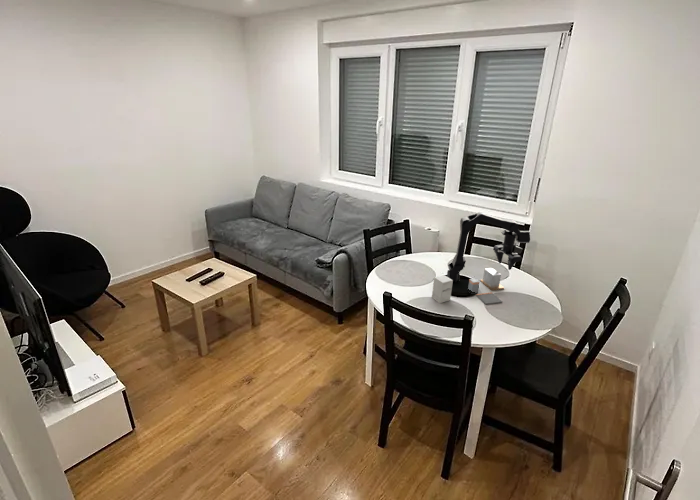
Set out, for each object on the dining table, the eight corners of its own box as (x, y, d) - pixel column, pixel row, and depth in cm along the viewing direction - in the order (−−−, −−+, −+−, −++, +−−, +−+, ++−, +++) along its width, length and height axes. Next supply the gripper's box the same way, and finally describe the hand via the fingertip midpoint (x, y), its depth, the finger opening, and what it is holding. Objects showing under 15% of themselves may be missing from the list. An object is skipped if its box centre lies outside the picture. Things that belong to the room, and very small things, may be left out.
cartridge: (471, 293, 217) (473, 282, 214) (467, 290, 220) (469, 279, 218) (477, 292, 218) (479, 281, 215) (474, 289, 221) (475, 278, 219)
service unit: (491, 290, 220) (494, 276, 216) (480, 281, 230) (482, 267, 227) (503, 289, 222) (506, 275, 218) (491, 280, 232) (494, 266, 229)
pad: (485, 304, 205) (486, 303, 205) (475, 295, 214) (476, 294, 214) (502, 302, 208) (502, 301, 207) (491, 293, 217) (491, 292, 216)
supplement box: (440, 303, 206) (442, 282, 201) (431, 297, 212) (433, 277, 207) (450, 300, 209) (453, 280, 204) (441, 294, 215) (444, 274, 210)
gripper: (532, 246, 211) (527, 271, 217) (511, 235, 228) (506, 258, 234) (514, 248, 209) (510, 273, 215) (494, 236, 225) (490, 260, 231)
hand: (504, 266), depth 224 cm, fingers open, 9 cm apart
